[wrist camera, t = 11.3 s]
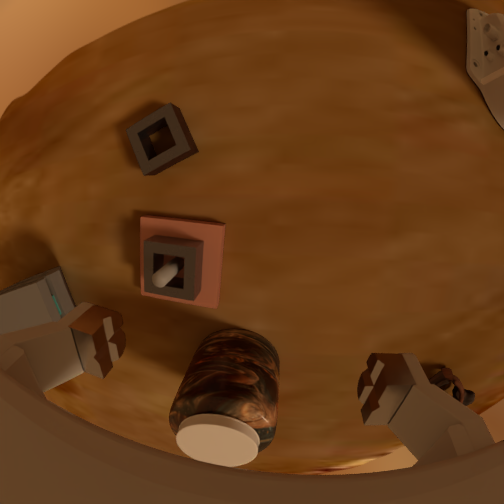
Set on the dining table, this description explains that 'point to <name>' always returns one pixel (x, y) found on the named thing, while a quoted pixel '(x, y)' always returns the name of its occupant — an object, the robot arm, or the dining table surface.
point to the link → (192, 265)
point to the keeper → (175, 265)
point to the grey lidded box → (35, 301)
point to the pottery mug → (458, 391)
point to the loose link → (152, 124)
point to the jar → (228, 399)
